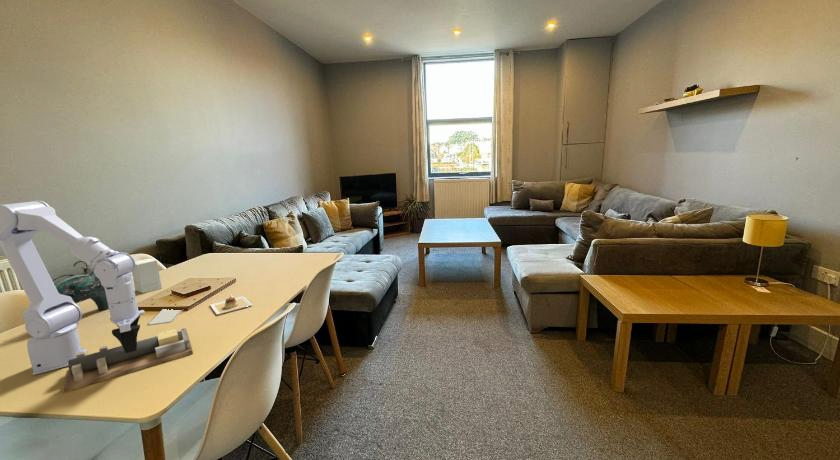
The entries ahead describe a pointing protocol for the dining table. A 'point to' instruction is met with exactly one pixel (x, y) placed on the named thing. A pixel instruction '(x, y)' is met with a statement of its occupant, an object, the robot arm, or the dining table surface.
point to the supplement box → (146, 276)
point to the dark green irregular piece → (83, 287)
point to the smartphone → (165, 316)
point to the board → (127, 363)
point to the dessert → (230, 304)
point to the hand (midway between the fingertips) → (131, 346)
